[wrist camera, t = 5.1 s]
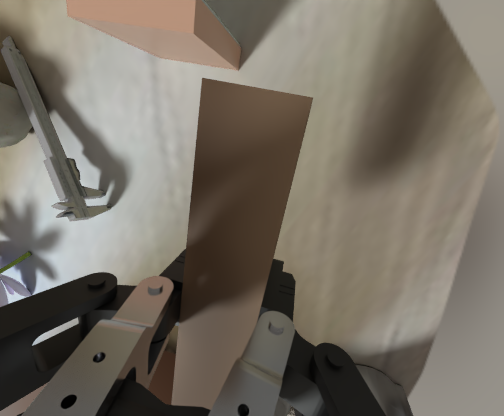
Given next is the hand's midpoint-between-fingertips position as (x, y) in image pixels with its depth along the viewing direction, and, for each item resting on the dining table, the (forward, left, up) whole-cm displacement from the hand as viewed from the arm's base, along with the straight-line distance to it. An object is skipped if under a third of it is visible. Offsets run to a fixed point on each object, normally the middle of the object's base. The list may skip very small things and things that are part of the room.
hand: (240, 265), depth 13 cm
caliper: (+26, -2, -15) cm, 30 cm away
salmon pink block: (+9, -12, -14) cm, 21 cm away
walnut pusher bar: (0, 0, -1) cm, 1 cm away
